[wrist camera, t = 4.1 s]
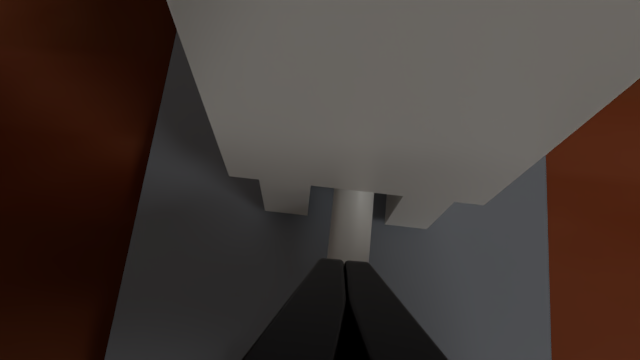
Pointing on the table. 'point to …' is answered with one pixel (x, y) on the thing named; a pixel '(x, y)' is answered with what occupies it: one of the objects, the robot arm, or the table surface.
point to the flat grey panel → (315, 254)
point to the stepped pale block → (401, 91)
